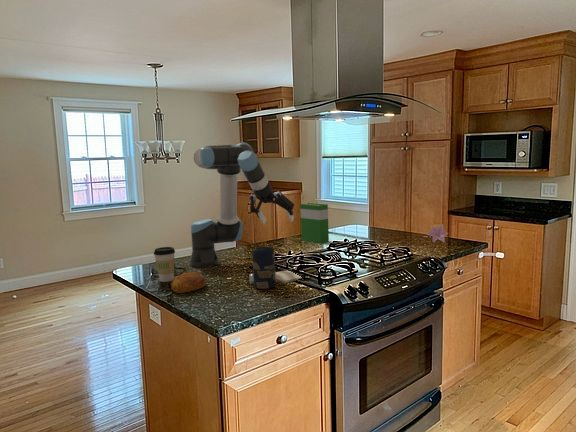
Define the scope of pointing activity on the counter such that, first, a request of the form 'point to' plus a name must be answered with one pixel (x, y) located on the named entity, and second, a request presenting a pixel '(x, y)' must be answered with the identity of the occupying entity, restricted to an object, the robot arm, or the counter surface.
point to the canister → (263, 267)
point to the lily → (437, 233)
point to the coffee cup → (165, 263)
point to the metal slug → (251, 278)
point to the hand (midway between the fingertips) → (278, 220)
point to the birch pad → (286, 276)
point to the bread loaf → (187, 282)
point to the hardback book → (314, 223)
